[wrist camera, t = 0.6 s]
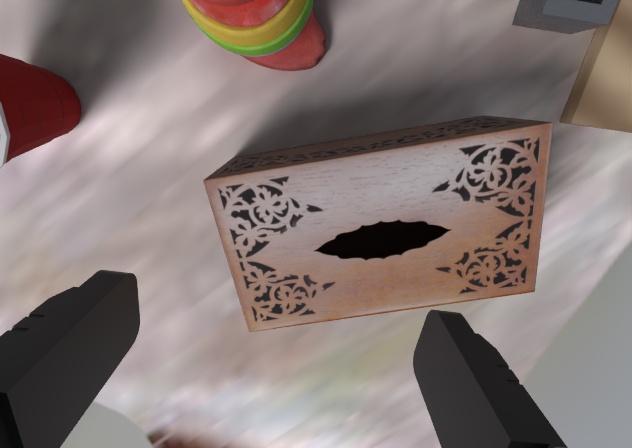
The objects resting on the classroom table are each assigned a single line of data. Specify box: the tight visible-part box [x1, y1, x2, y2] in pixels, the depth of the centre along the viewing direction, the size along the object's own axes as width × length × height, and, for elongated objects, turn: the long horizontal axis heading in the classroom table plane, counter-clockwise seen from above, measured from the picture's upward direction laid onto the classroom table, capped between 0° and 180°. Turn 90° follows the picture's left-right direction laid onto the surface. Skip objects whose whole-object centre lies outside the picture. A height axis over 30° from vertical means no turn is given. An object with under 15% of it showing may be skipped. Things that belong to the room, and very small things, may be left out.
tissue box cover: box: [203, 116, 553, 332], centre depth 30 cm, size 26×14×10 cm, turn 99°
